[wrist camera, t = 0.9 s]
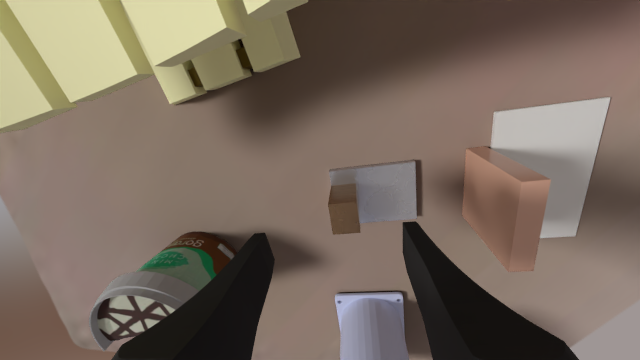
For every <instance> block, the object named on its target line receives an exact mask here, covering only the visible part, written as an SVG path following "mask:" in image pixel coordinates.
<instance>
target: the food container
mask: <svg viewBox="0 0 640 360" xmlns="http://www.w3.org/2000/svg"><path fill="white" fill-rule="evenodd" d="M236 254H237V252H236V250H235V249H234V248H233V247H232V246H230V245H229V244H228V243H227V242H226V241H224V240H223V239H221V238H219V237H217V236H215V235H213V234H209V233H205V232H190V233H186V234H184V235H182V236H180V237H179V238H178V239H176V240H175V241H174V242H172V243H171V244H170V245H169V246H167V247H166V248H165V249H164V250H162V251H161V252H160V253H158V254H157V255H156V256H155V257H153V258H152V259H151V260H150V261H148V262H147V263H146V264H145V265H143V266H142V267H141V268H139V269H138V270H137V271H136V272H131V273H126V274H124V275H121V276H119V277H117V278H116V279H114V280H113V281H112V282H111V283H110V284H109V285H108V286H107V288H106V289H105V290H104V292H103V293H102V294H101V295H100V297H99V298H98V299H97V301H96V303H95V305H94V307H93V309H92V311H91V313H90V317H89V326H90V330H91V333H92V335H93V337H94V339H95V341H96V342H97V344H98V345H99V346H100V348H101V349H102V350H103V351H105V350H106V349H107V347H108V346H109V345H110V344H111V343H112V342H113V341H115V340H120V339H123V338H127V337H133V336H138V335H139V334H141V333H143V332H144V331H146V330H147V329H149V328H151V327H152V326H154V325H155V324H157V323H158V322H159V321H161V320H162V319H164V318H165V317H167V316H168V315H170V314H171V313H172V312H174V311H175V310H176V309H178V308H179V307H180V306H181V305H183V304H184V303H185V302H187V301H188V300H189V299H190V298H192V297H193V296H194V295H195V294H196V293H198V292H199V291H200V290H201V289H202V288H203V287H204V286H206V285H207V284H208V283H209V282H210V281H211V280H212V279H213V278H214V277H215V276H216V275H217V274H218V273H219V272H220V271H221V270H222V269H223V268H224V267H225V266H226V265H227V264H228V263H229V262H230V260H231V259H232V258H233V257H234V256H235V255H236Z"/></svg>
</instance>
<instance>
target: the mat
mask: <svg viewBox="0 0 640 360" xmlns="http://www.w3.org/2000/svg"><path fill="white" fill-rule="evenodd" d="M610 98H611V97H603V98H596V99H588V100H580V101H572V102H565V103H557V104H549V105H542V106H534V107H526V108H519V109H511V110H503V111H495V112H494V116H493V126H492V137H491V147H490V149H492V150H494V151H496V152H498V153H500V154H502V155H504V156H506V157H508V158H510V159H512V160H514V161H516V162H518V163H520V164H522V165H523V166H525V167H527V168H529V169H531V170H533V171H535V172H537V173H539V174H541V175H543V176H545V177H547V178H549V179H551V182H550V187H549V193H548V198H547V203H546V208H545V213H544V219H543V224H542V229H541V234H540V238H550V237H568V236H576V232H577V228H578V224H579V220H580V216H581V212H582V208H583V205H584V201H585V197H586V193H587V189H588V185H589V181H590V177H591V173H592V169H593V165H594V161H595V157H596V153H597V149H598V145H599V141H600V137H601V133H602V129H603V125H604V121H605V118H606V114H607V110H608V106H609V102H610ZM482 241H483V240H482Z"/></svg>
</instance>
